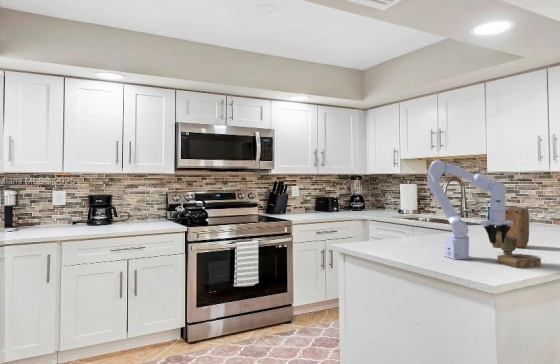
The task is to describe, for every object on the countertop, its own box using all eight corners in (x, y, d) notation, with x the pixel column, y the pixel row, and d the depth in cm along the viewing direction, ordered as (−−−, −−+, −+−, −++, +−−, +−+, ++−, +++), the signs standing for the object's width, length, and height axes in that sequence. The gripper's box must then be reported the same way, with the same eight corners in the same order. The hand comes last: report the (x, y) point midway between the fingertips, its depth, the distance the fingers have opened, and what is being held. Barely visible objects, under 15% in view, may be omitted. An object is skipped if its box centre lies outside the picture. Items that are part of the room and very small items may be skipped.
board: (516, 267, 146) (516, 260, 146) (497, 262, 155) (497, 255, 155) (540, 266, 150) (540, 258, 149) (520, 261, 158) (521, 254, 158)
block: (530, 247, 188) (531, 207, 188) (520, 249, 185) (521, 208, 185) (509, 244, 198) (510, 206, 198) (500, 245, 195) (500, 206, 194)
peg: (496, 248, 157) (496, 233, 157) (489, 246, 161) (489, 231, 160) (504, 247, 158) (503, 232, 158) (496, 246, 162) (496, 231, 161)
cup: (499, 252, 177) (500, 235, 177) (518, 254, 172) (518, 236, 172) (496, 254, 171) (497, 237, 171) (515, 256, 167) (516, 238, 166)
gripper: (490, 211, 153) (489, 245, 154) (519, 211, 157) (518, 243, 157) (477, 210, 160) (476, 242, 160) (505, 209, 164) (504, 240, 164)
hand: (496, 242), depth 159 cm, fingers closed on peg, 4 cm apart
